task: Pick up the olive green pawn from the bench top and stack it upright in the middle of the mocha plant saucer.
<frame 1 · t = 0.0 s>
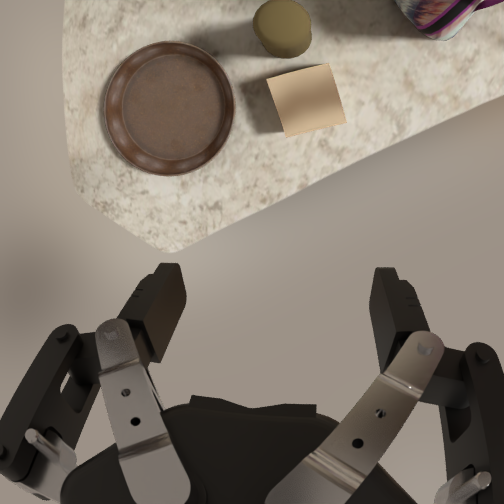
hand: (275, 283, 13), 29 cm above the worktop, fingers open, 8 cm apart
oak base block: (306, 97, 34), on the worktop
plant saucer: (173, 106, 38), on the worktop
olive green pawn: (286, 35, 31), on the worktop
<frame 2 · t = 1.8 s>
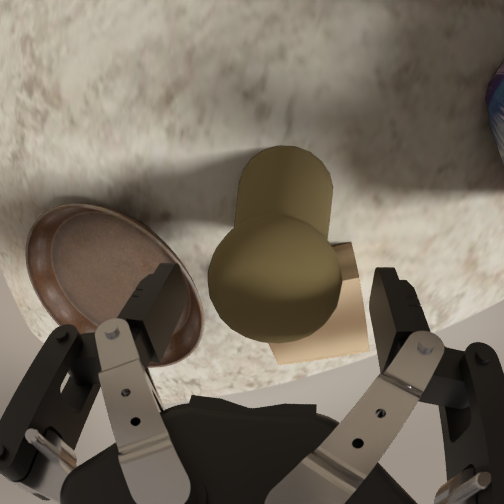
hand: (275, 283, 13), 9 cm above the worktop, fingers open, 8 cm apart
oak base block: (313, 290, 24), on the worktop
plant saucer: (118, 278, 27), on the worktop
olive green pawn: (286, 189, 20), on the worktop
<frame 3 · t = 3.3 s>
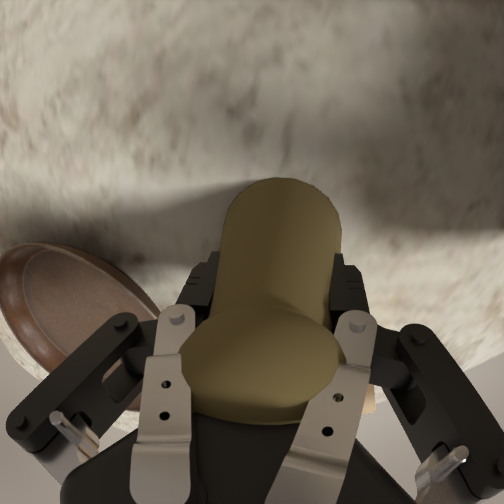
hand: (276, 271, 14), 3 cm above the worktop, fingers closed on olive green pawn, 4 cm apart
plant saucer: (95, 319, 23), on the worktop
olive green pawn: (282, 232, 16), on the worktop, touching gripper
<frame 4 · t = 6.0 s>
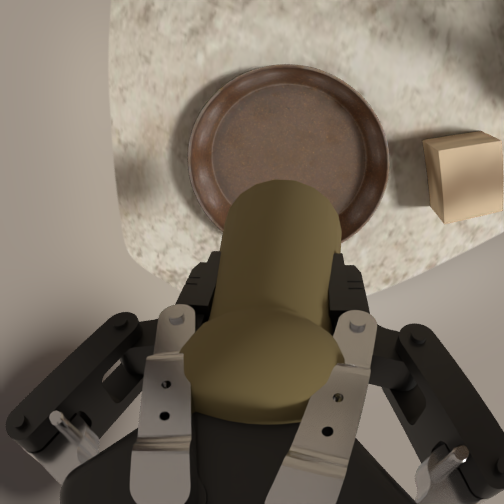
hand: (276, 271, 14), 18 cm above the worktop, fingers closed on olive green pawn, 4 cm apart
oak base block: (456, 168, 26), on the worktop
plant saucer: (289, 158, 29), on the worktop
olive green pawn: (282, 233, 16), point 14 cm above the worktop, touching gripper
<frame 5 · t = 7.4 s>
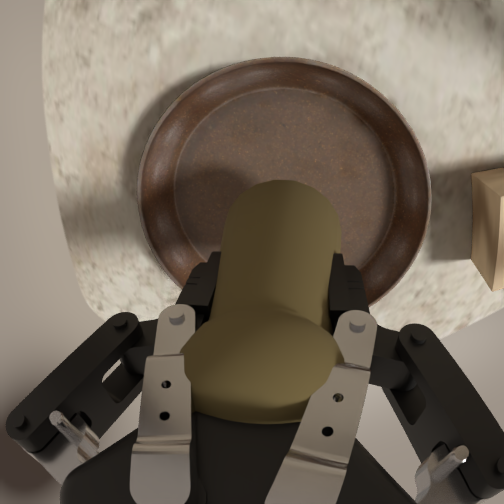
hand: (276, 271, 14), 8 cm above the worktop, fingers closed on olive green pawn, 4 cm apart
plant saucer: (285, 197, 21), on the worktop
olive green pawn: (282, 233, 16), point 4 cm above the worktop, touching gripper
when the fingers open (7 cm above the worktop, at t = 8.6 s): olive green pawn drops 1 cm, resting on plant saucer.
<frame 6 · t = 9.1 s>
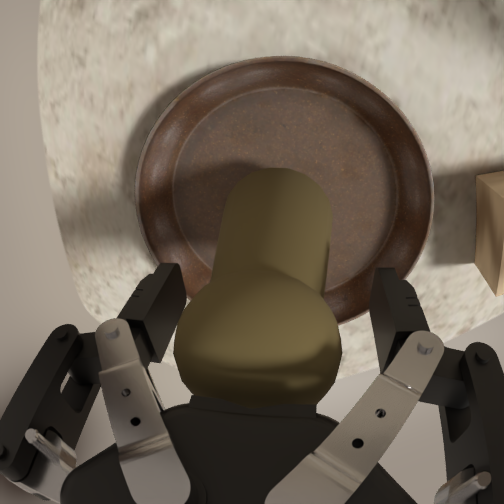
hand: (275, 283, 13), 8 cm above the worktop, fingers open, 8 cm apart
plant saucer: (285, 198, 20), on the worktop, touching olive green pawn
olive green pawn: (278, 218, 18), point 2 cm above the worktop, touching plant saucer
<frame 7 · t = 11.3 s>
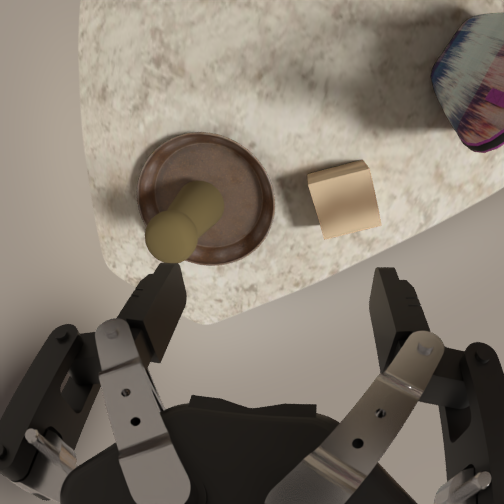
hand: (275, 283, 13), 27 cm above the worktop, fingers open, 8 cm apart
handbag: (475, 70, 26), on the worktop
oak base block: (342, 193, 38), on the worktop
plant saucer: (208, 195, 41), on the worktop, touching olive green pawn
olive green pawn: (200, 203, 38), point 2 cm above the worktop, touching plant saucer
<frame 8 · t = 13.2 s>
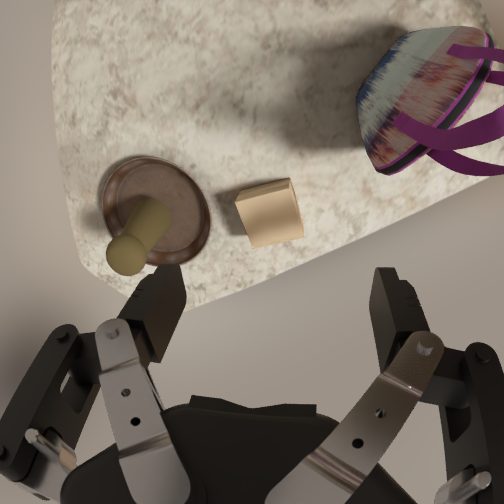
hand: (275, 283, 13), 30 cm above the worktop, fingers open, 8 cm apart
handbag: (408, 88, 32), on the worktop
oak base block: (272, 207, 44), on the worktop
plant saucer: (160, 207, 47), on the worktop, touching olive green pawn
olive green pawn: (152, 216, 44), point 3 cm above the worktop, touching plant saucer
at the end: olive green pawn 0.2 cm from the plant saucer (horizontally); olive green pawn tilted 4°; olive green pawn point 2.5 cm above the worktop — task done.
